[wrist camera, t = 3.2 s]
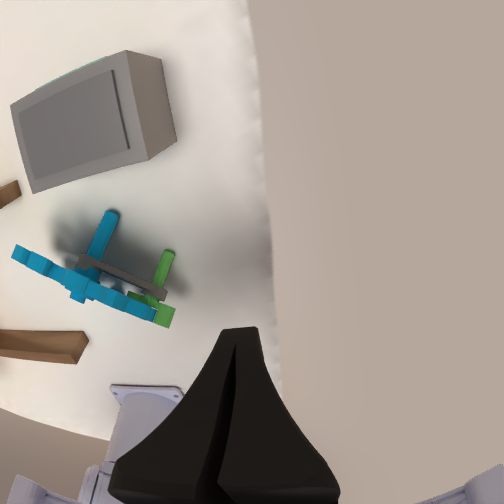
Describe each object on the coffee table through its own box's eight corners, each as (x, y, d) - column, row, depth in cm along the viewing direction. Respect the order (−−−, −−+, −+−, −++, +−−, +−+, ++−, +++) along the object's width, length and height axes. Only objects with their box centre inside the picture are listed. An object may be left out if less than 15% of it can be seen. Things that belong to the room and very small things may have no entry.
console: (176, 141, 17) (146, 161, 12) (77, 167, 17) (30, 196, 13) (160, 55, 14) (122, 44, 10) (60, 92, 15) (6, 101, 10)
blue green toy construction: (29, 273, 19) (-16, 258, 11) (58, 205, 21) (36, 151, 12) (152, 328, 23) (182, 348, 15) (177, 260, 25) (221, 239, 16)
